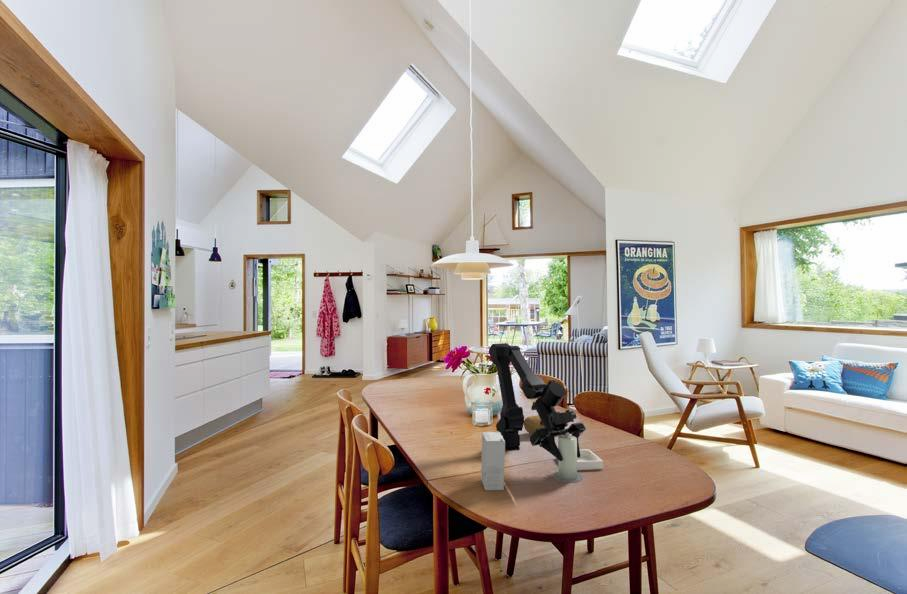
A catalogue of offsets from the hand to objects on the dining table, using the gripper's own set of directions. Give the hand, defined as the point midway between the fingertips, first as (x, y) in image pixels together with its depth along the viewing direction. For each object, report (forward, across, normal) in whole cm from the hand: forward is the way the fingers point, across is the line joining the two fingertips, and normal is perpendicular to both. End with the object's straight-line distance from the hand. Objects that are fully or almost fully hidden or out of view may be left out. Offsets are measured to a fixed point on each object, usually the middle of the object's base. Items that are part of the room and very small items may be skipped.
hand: (570, 458), depth 137 cm
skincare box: (0, -23, +10) cm, 25 cm away
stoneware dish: (-1, +11, +11) cm, 15 cm away
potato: (-25, +20, +35) cm, 47 cm away
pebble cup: (+3, 0, +5) cm, 6 cm away
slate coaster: (+4, 0, +6) cm, 7 cm away
